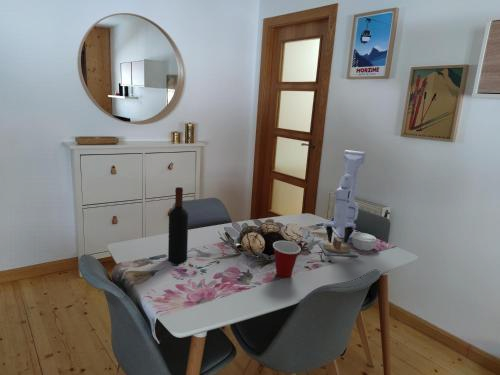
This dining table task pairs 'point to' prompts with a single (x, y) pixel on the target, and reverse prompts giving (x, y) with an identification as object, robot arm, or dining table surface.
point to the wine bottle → (178, 230)
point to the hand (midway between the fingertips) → (337, 242)
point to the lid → (336, 246)
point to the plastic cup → (285, 257)
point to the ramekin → (363, 241)
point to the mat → (336, 253)
